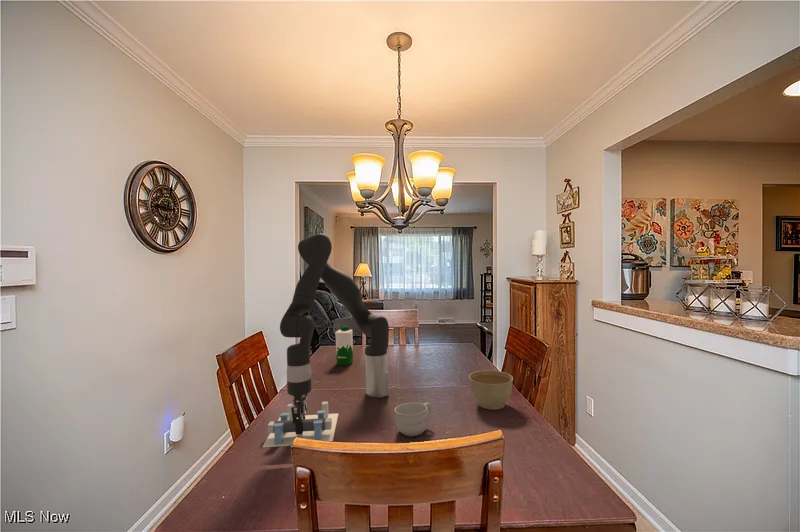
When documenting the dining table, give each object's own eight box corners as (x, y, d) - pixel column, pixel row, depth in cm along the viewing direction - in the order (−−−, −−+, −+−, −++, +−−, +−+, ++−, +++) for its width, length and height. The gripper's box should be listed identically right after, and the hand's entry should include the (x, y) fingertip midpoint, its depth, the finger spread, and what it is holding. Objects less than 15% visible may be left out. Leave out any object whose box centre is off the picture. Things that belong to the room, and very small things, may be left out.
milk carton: (354, 361, 201) (353, 325, 201) (350, 365, 192) (348, 328, 192) (339, 360, 203) (338, 325, 202) (334, 365, 194) (333, 328, 194)
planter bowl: (484, 393, 147) (483, 367, 147) (521, 404, 136) (520, 375, 135) (461, 405, 136) (460, 377, 136) (499, 418, 124) (498, 387, 124)
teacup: (404, 443, 109) (404, 417, 109) (389, 429, 119) (388, 405, 119) (442, 432, 116) (442, 407, 116) (425, 419, 125) (424, 396, 125)
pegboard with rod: (338, 415, 131) (337, 398, 130) (332, 444, 110) (331, 424, 110) (279, 419, 129) (279, 401, 129) (262, 449, 108) (261, 428, 108)
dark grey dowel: (332, 426, 117) (331, 415, 117) (330, 431, 114) (330, 420, 114) (270, 430, 116) (270, 419, 116) (267, 435, 112) (267, 424, 112)
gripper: (306, 384, 108) (308, 441, 108) (314, 370, 122) (316, 420, 122) (281, 385, 107) (283, 442, 107) (292, 371, 121) (293, 421, 121)
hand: (300, 430), depth 115 cm, fingers closed on dark grey dowel, 3 cm apart
